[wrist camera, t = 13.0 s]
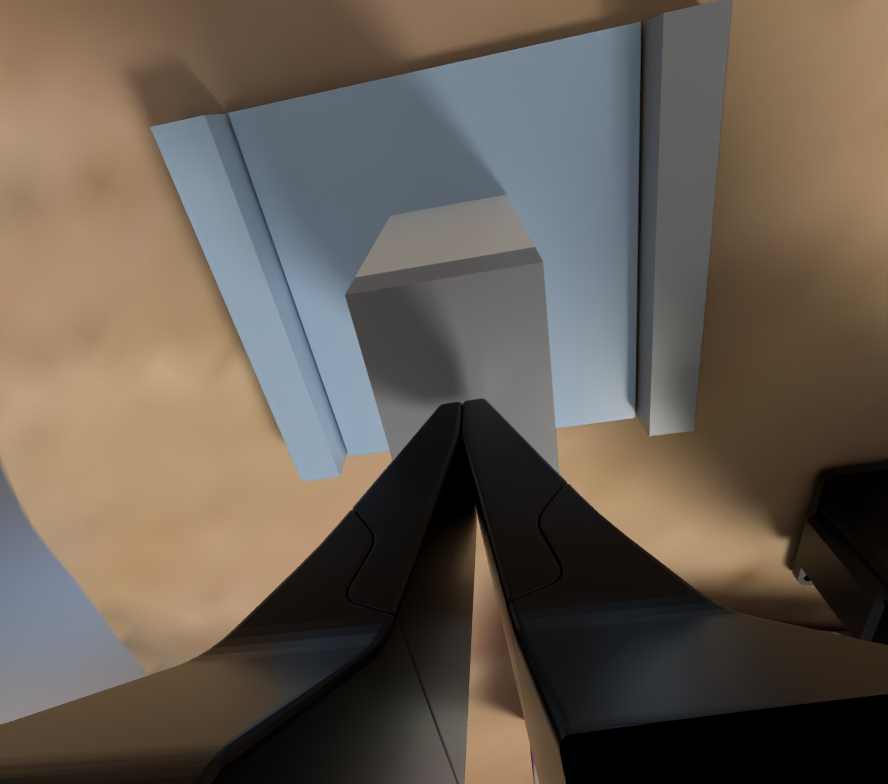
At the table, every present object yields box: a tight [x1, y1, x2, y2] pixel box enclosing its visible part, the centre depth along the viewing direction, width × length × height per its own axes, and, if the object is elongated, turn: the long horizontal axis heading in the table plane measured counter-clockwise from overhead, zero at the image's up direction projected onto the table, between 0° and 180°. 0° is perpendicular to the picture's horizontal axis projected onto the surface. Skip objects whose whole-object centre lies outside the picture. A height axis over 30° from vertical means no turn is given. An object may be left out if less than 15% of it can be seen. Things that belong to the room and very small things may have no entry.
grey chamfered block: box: [345, 194, 559, 474], centre depth 13 cm, size 4×5×7 cm
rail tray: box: [150, 0, 732, 482], centre depth 15 cm, size 27×12×2 cm, turn 100°
